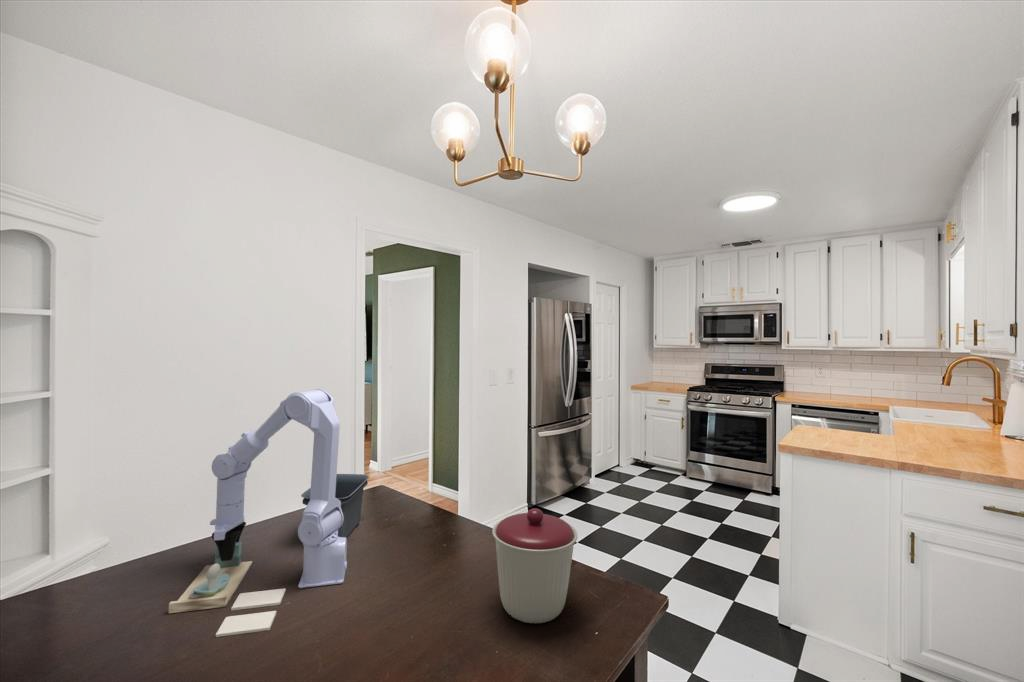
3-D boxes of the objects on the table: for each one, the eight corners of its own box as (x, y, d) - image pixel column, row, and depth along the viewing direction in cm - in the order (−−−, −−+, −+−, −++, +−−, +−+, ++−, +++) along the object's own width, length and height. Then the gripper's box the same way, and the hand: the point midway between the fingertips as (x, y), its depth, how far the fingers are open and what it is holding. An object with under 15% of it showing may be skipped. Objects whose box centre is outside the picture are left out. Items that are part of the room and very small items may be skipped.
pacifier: (181, 600, 92) (205, 603, 91) (181, 570, 92) (206, 573, 91) (210, 582, 99) (233, 584, 98) (210, 554, 100) (234, 556, 99)
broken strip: (285, 590, 98) (285, 588, 98) (269, 630, 84) (269, 627, 84) (239, 595, 95) (239, 593, 95) (215, 637, 82) (215, 634, 82)
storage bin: (345, 551, 117) (347, 497, 117) (287, 550, 117) (289, 496, 117) (370, 520, 138) (372, 474, 138) (321, 519, 138) (322, 473, 138)
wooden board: (252, 562, 109) (253, 540, 109) (225, 606, 91) (226, 580, 91) (206, 567, 107) (206, 544, 107) (168, 613, 88) (169, 586, 88)
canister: (582, 595, 99) (584, 501, 100) (565, 646, 82) (568, 532, 82) (506, 579, 105) (509, 490, 105) (476, 623, 88) (479, 517, 88)
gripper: (222, 492, 113) (220, 545, 113) (199, 513, 99) (197, 574, 99) (253, 491, 115) (251, 543, 115) (234, 511, 101) (232, 570, 101)
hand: (228, 557), depth 107 cm, fingers closed on wooden board, 2 cm apart
